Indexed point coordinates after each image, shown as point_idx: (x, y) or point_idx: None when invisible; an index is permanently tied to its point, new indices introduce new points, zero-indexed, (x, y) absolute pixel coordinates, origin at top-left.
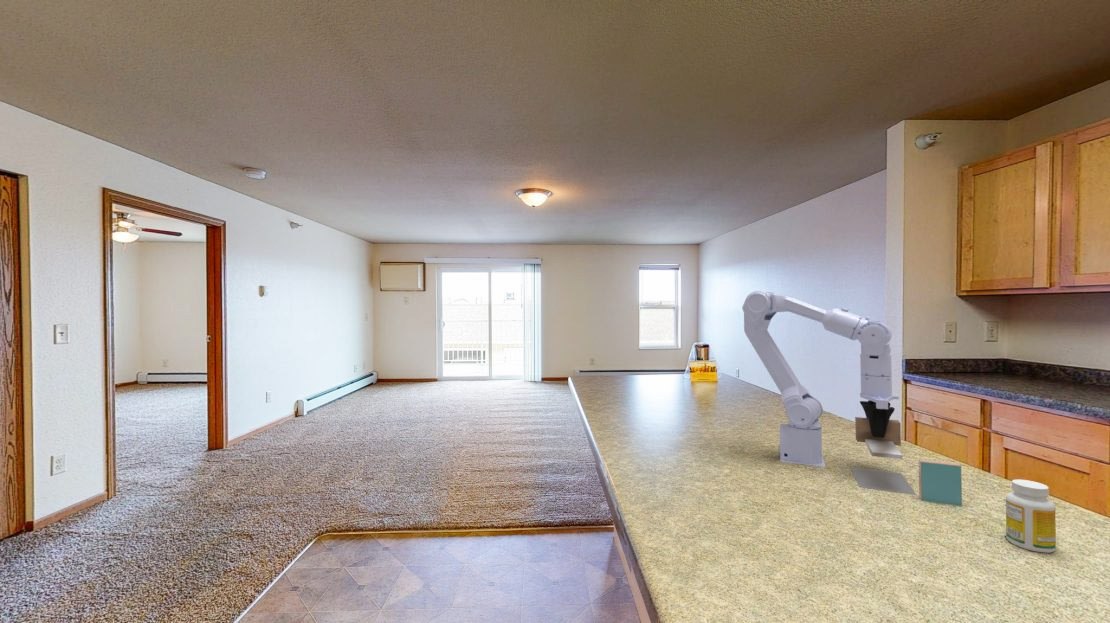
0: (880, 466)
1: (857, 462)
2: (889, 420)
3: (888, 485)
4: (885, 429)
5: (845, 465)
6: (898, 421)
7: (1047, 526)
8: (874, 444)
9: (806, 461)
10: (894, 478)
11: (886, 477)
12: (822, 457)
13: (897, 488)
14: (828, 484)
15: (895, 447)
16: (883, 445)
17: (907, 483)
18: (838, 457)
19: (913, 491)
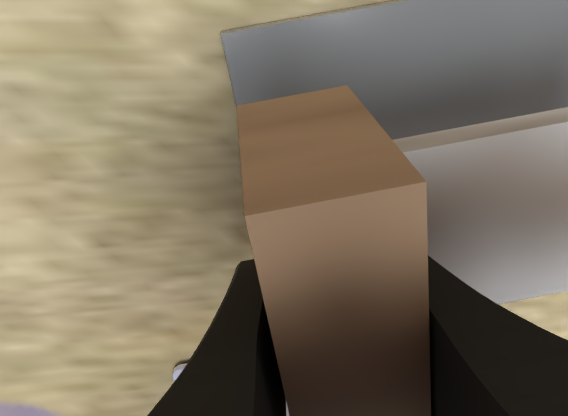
0: (93, 137)
1: (103, 240)
2: (320, 301)
3: (509, 95)
4: (447, 273)
5: (207, 278)
6: (328, 207)
7: None
8: (520, 265)
9: None
10: (362, 68)
11: (367, 106)
12: (181, 371)
13: (542, 53)
14: (544, 299)
15: (563, 132)
16: (527, 212)
17: (425, 2)
18: (76, 317)
19: None
